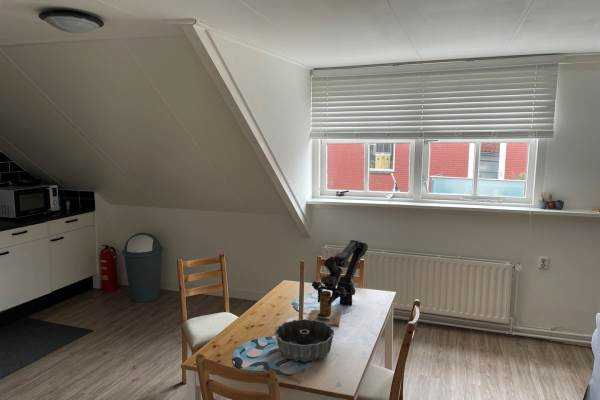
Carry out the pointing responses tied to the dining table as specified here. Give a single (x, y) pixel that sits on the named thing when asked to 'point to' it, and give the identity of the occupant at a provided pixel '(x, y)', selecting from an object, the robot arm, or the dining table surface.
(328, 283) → the robot arm
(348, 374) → the dining table surface
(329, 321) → the walnut board
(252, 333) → the dining table surface
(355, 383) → the dining table surface
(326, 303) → the condiment
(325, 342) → the bundt pan
